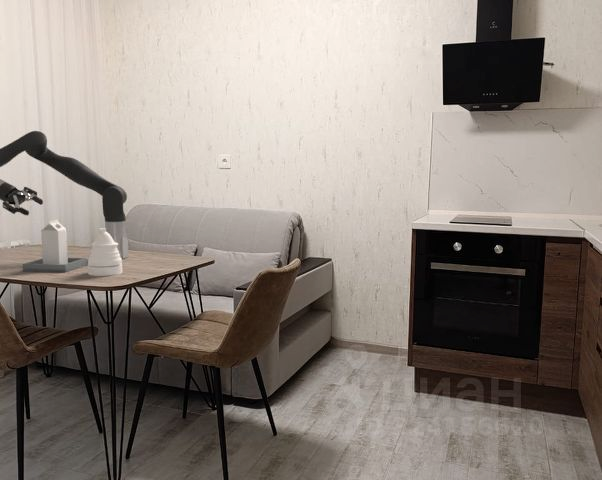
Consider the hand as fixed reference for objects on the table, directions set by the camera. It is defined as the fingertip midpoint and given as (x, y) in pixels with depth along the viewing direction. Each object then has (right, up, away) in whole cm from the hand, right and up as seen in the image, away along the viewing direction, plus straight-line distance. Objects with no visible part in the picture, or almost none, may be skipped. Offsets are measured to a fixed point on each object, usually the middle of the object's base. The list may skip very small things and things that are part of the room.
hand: (35, 208), depth 231 cm
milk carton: (+9, -24, -1) cm, 26 cm away
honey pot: (+33, -27, -11) cm, 44 cm away
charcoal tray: (+9, -25, -1) cm, 27 cm away
